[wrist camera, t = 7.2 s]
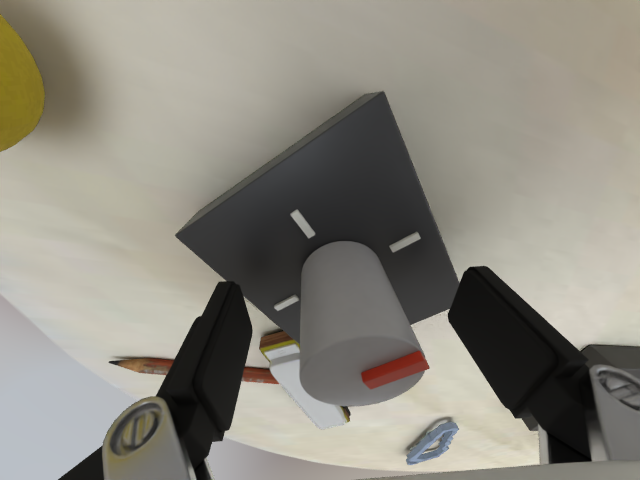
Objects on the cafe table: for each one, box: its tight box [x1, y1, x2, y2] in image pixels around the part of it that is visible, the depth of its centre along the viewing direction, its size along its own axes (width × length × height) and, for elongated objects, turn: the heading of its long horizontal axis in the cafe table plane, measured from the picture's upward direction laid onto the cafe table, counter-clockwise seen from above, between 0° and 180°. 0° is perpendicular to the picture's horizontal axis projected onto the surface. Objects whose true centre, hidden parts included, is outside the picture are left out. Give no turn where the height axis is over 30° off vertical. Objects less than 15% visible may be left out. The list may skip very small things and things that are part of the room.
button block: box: [522, 345, 640, 431], centre depth 23 cm, size 12×10×4 cm
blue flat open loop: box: [406, 422, 459, 465], centre depth 30 cm, size 12×1×5 cm
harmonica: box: [259, 331, 350, 429], centre depth 20 cm, size 15×3×2 cm, turn 19°
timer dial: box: [299, 241, 429, 406], centre depth 9 cm, size 4×4×5 cm
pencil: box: [109, 358, 279, 384], centre depth 19 cm, size 19×1×1 cm, turn 75°
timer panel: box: [175, 91, 460, 345], centre depth 12 cm, size 12×10×3 cm
